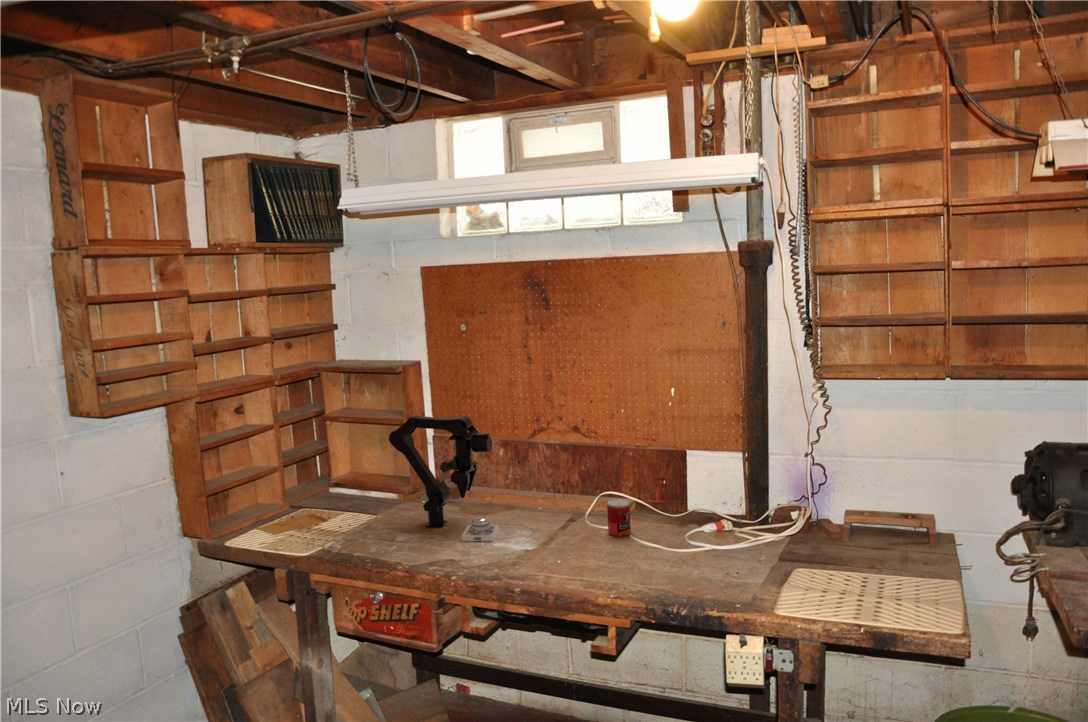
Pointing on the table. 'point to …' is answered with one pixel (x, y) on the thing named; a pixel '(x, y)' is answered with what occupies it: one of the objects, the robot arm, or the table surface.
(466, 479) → the robot arm
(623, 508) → the canned food
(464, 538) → the grey square frame
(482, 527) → the piston
